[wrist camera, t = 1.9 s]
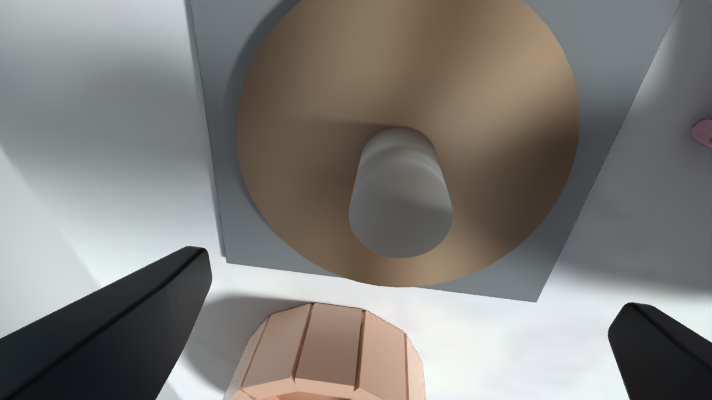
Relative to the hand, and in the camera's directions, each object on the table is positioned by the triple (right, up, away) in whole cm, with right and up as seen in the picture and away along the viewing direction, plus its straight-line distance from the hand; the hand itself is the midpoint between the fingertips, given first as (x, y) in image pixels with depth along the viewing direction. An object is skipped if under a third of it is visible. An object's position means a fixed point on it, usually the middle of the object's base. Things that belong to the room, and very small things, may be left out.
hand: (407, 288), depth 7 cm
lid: (+1, +4, +7) cm, 8 cm away
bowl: (-3, -9, +14) cm, 17 cm away
